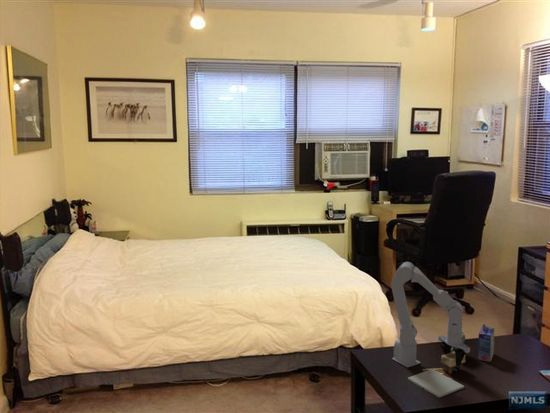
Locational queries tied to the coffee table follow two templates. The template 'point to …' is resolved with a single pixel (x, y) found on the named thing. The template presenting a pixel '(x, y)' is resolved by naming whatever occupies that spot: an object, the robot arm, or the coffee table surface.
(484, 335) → the ink cartridge box
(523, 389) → the coffee table surface
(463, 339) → the food container
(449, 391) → the blue-grey board
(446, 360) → the beige cardboard carton
